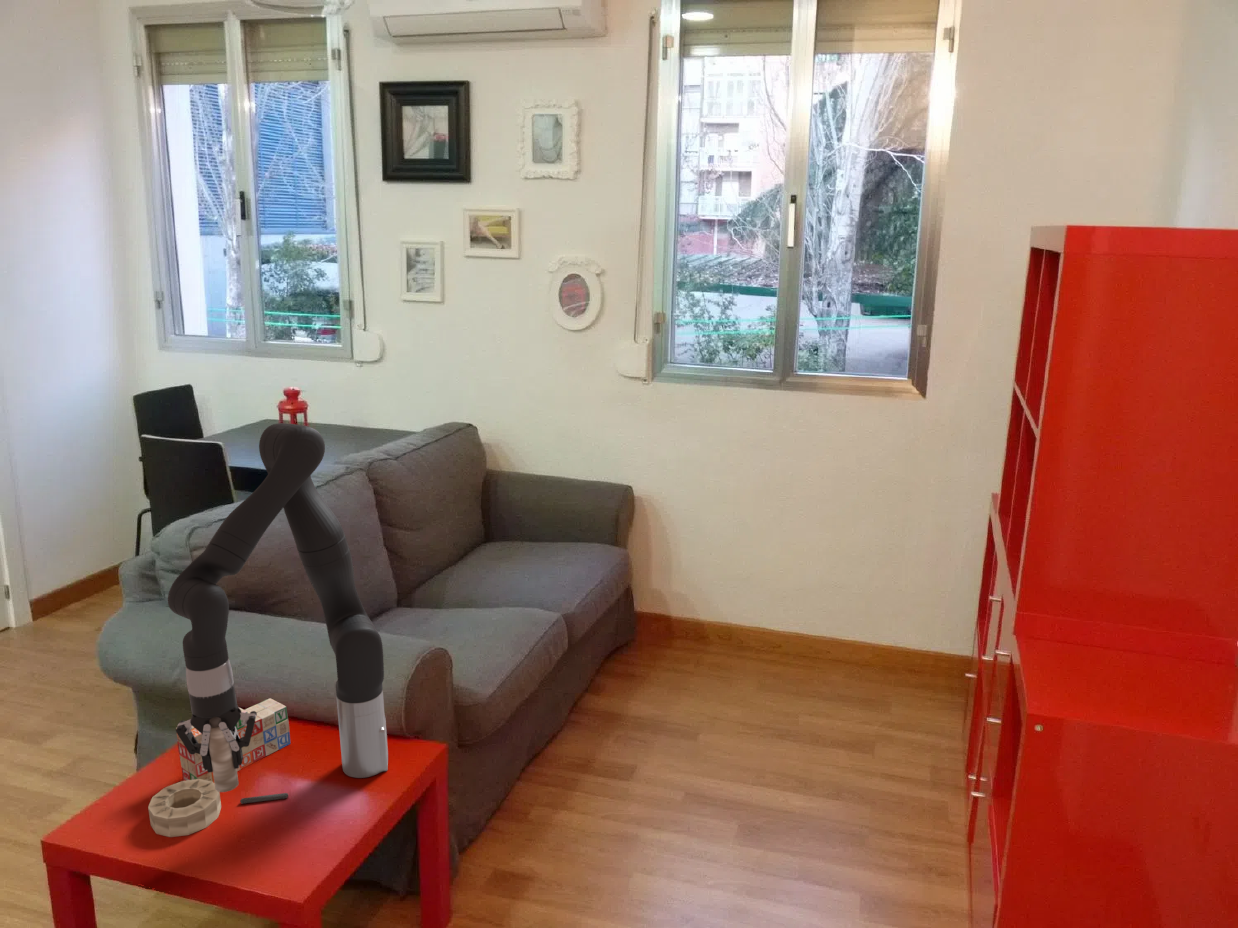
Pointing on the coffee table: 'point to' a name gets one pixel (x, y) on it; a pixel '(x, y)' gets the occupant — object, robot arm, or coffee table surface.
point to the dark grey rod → (264, 798)
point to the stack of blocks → (264, 739)
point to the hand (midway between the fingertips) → (224, 767)
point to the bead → (184, 808)
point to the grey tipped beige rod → (221, 759)
